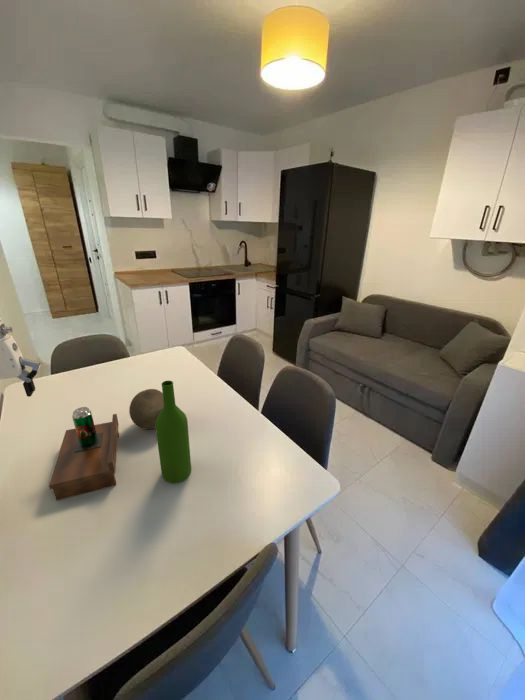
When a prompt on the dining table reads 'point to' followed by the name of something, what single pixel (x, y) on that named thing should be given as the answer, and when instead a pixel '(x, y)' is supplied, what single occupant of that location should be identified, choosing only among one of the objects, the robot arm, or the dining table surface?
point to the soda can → (84, 426)
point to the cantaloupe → (146, 408)
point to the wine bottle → (173, 438)
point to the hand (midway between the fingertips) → (7, 397)
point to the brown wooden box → (86, 462)
